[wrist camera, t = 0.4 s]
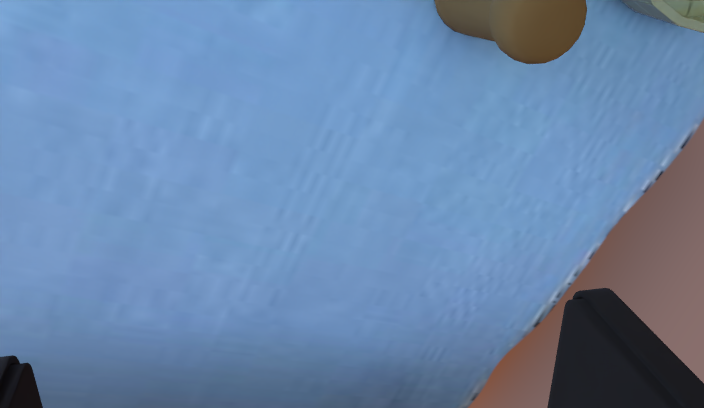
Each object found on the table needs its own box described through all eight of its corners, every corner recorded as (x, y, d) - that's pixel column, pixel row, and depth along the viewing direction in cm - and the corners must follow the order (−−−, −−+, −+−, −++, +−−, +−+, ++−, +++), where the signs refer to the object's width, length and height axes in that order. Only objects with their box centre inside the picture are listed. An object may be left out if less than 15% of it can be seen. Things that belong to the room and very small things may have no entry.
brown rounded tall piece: (482, -80, 42) (563, -66, 33) (536, -12, 45) (626, 19, 35) (415, -9, 43) (474, 25, 34) (471, 53, 46) (541, 100, 36)
